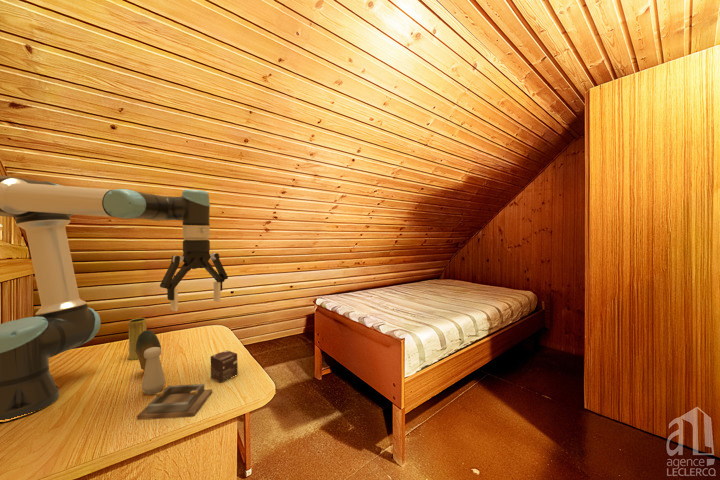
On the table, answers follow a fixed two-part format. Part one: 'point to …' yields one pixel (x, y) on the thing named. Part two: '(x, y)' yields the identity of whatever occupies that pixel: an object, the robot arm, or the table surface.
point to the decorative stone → (145, 345)
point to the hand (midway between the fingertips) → (197, 305)
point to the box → (224, 366)
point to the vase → (135, 335)
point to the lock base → (176, 402)
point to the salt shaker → (153, 372)
